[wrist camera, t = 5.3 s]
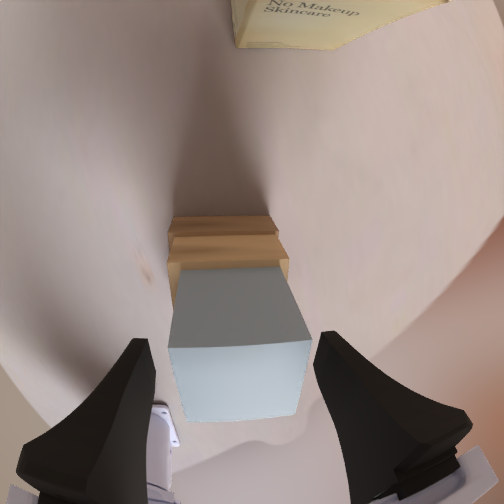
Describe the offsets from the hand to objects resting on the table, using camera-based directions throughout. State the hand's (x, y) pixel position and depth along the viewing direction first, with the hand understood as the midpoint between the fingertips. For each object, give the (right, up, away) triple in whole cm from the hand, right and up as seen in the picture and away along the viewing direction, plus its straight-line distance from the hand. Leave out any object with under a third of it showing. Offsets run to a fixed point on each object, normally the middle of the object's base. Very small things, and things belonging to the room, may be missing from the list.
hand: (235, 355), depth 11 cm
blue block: (0, +1, +3) cm, 3 cm away
